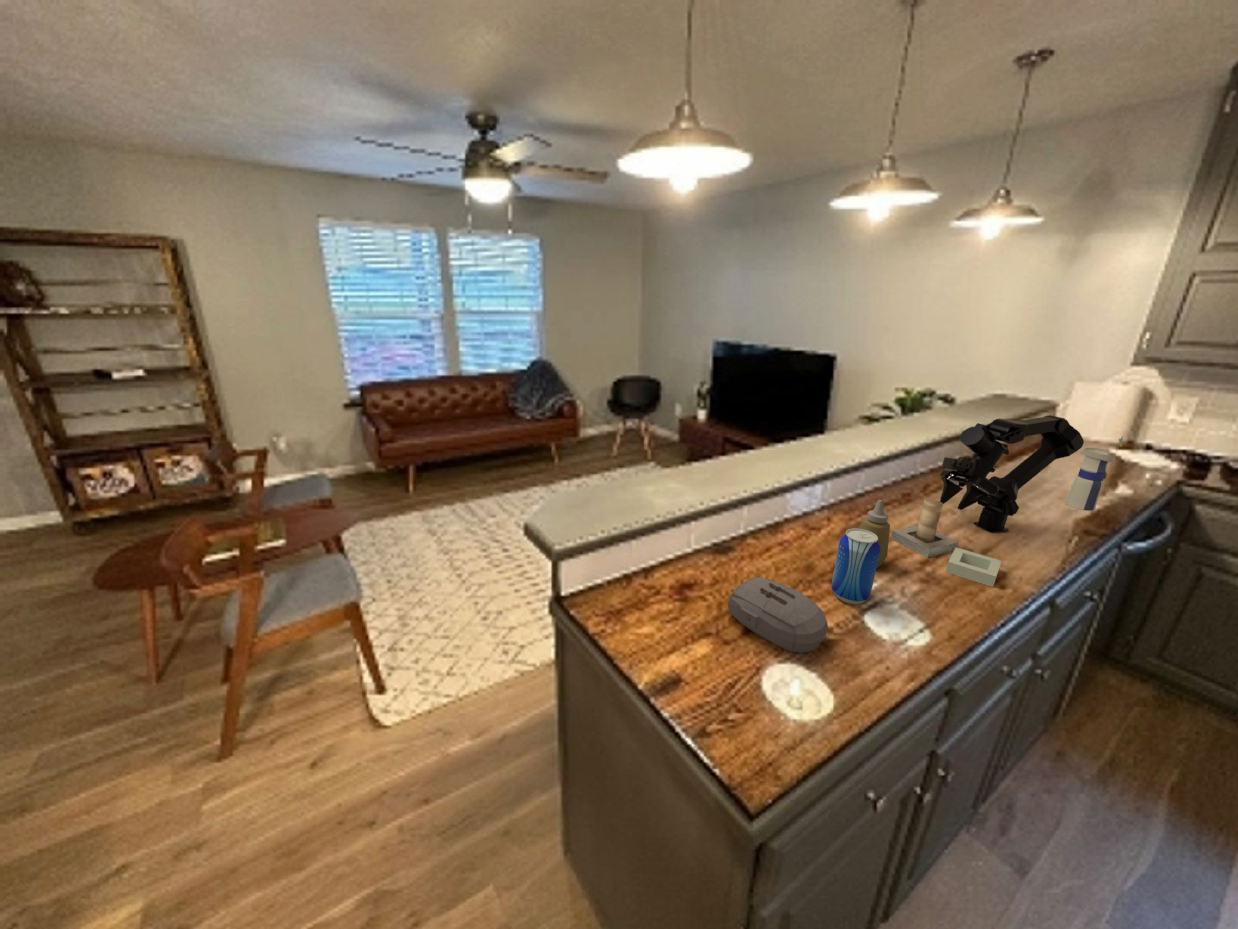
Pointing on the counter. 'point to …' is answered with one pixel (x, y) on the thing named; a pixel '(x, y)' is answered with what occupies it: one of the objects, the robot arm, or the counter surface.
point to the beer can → (855, 566)
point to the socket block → (928, 550)
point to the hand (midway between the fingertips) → (949, 506)
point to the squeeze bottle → (878, 528)
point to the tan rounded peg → (929, 520)
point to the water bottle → (1090, 479)
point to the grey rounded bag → (779, 614)
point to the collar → (973, 566)
